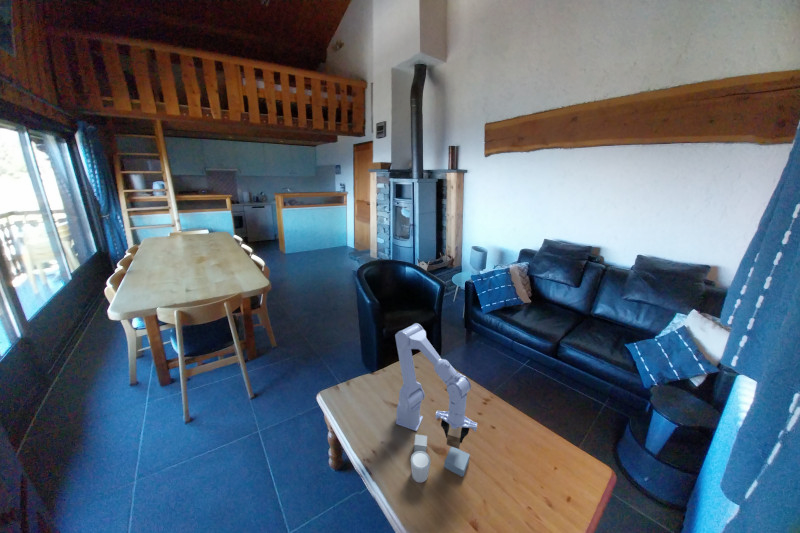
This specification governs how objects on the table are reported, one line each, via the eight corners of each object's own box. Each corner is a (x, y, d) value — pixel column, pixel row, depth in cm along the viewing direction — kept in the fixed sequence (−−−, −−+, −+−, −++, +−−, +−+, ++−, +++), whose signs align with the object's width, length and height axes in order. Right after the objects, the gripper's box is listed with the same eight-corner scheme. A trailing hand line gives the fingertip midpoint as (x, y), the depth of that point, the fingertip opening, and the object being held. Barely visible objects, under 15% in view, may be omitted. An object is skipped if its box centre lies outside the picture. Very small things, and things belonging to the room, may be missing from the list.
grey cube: (413, 454, 112) (414, 444, 111) (415, 444, 116) (415, 434, 115) (425, 456, 112) (426, 446, 110) (426, 445, 116) (427, 435, 114)
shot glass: (424, 488, 101) (424, 473, 98) (406, 477, 104) (406, 462, 102) (433, 471, 106) (434, 456, 104) (416, 461, 110) (416, 447, 107)
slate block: (444, 468, 108) (444, 460, 107) (451, 452, 114) (451, 445, 112) (462, 477, 105) (463, 470, 103) (469, 461, 110) (469, 454, 109)
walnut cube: (446, 444, 109) (447, 434, 107) (449, 434, 113) (450, 424, 111) (458, 449, 107) (459, 438, 106) (461, 438, 111) (462, 428, 109)
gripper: (433, 410, 104) (431, 440, 108) (476, 423, 99) (472, 454, 103) (439, 396, 110) (437, 425, 114) (479, 408, 105) (475, 438, 109)
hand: (454, 438), depth 109 cm, fingers closed on walnut cube, 4 cm apart
